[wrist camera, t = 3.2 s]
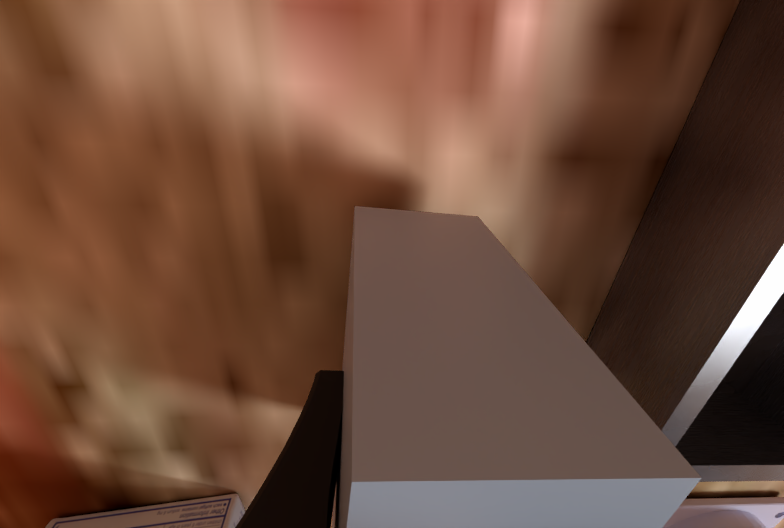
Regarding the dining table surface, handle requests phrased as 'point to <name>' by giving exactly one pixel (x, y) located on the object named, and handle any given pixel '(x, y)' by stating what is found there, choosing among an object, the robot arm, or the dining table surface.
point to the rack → (713, 269)
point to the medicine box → (164, 515)
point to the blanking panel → (482, 395)
